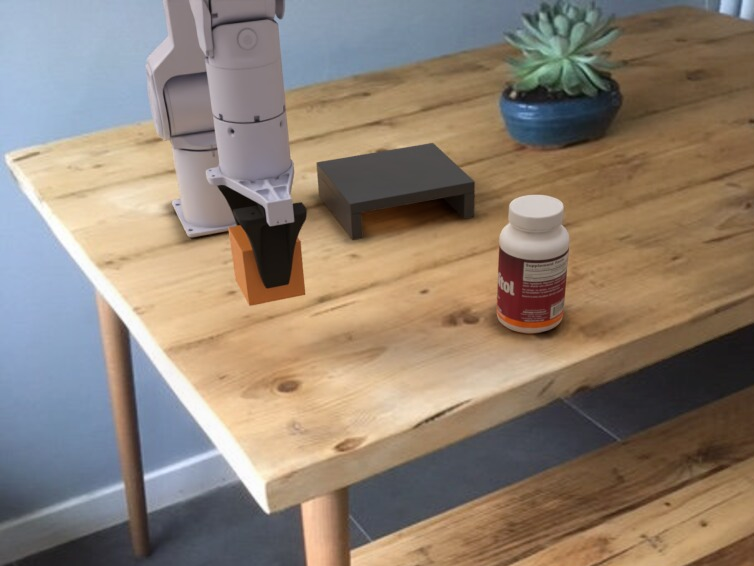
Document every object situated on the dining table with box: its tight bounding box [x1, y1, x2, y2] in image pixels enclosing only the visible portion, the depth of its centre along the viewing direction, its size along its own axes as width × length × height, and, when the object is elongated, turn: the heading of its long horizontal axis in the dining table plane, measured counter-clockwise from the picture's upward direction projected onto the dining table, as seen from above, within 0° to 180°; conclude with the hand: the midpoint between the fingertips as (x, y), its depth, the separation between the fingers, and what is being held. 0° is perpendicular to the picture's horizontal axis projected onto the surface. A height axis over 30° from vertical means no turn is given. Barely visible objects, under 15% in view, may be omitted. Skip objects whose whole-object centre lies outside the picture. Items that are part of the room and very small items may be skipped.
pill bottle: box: [496, 194, 571, 334], centre depth 93 cm, size 6×6×11 cm
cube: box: [228, 225, 306, 307], centre depth 89 cm, size 5×5×5 cm
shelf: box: [316, 142, 476, 241], centre depth 114 cm, size 12×14×4 cm
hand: (268, 270), depth 90 cm, fingers closed on cube, 5 cm apart
